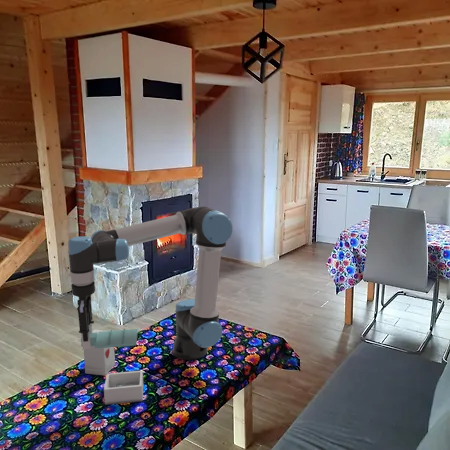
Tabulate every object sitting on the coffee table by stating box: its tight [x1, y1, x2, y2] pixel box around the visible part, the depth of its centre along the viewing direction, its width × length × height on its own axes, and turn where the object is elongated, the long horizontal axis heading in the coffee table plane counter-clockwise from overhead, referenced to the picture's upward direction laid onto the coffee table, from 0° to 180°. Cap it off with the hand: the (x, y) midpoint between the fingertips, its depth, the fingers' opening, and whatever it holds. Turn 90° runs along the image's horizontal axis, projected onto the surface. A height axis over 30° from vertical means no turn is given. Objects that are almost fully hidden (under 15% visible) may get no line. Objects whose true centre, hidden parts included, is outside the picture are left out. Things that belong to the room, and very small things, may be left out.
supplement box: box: [83, 329, 116, 377], centre depth 170 cm, size 9×9×15 cm
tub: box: [103, 370, 144, 406], centre depth 154 cm, size 13×10×6 cm
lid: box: [80, 328, 138, 348], centre depth 149 cm, size 19×11×3 cm, turn 99°
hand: (87, 345), depth 148 cm, fingers closed on lid, 4 cm apart
